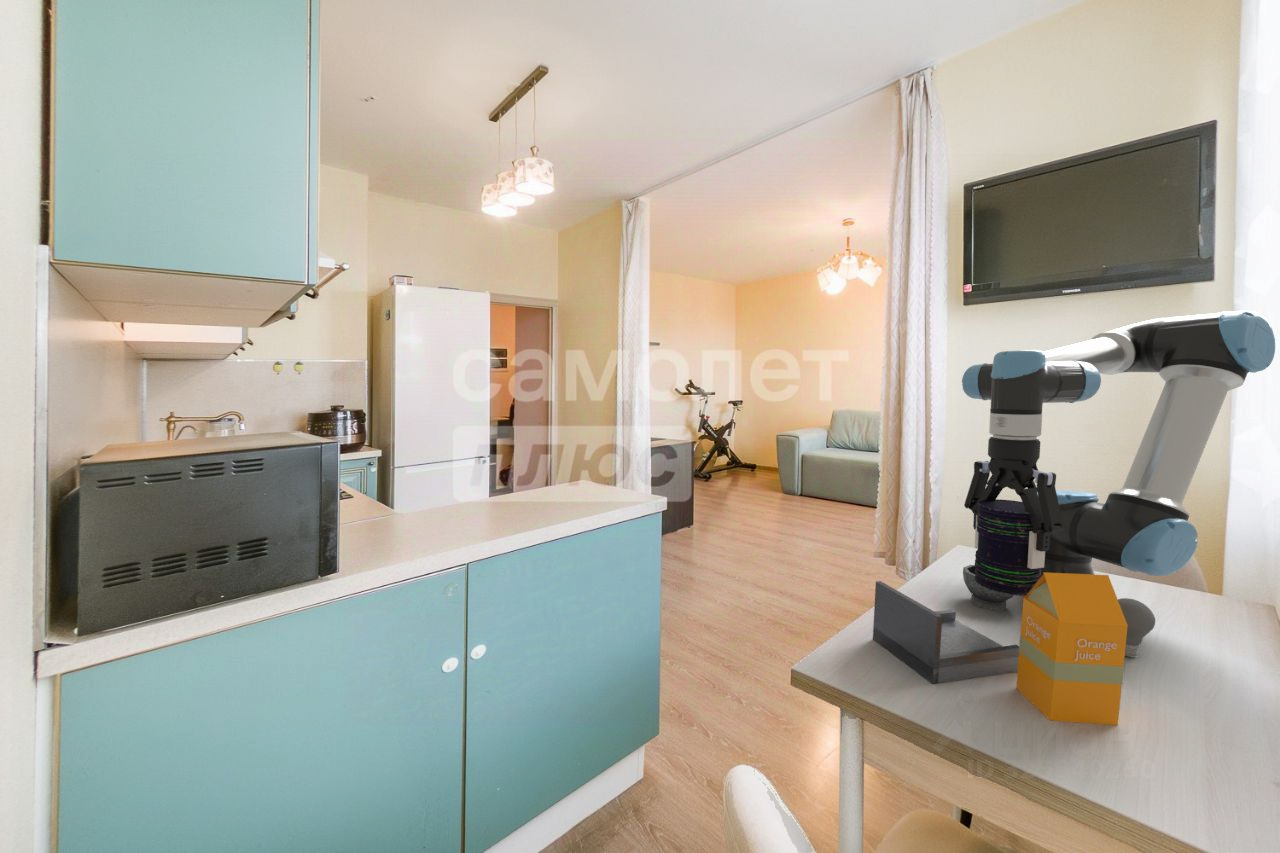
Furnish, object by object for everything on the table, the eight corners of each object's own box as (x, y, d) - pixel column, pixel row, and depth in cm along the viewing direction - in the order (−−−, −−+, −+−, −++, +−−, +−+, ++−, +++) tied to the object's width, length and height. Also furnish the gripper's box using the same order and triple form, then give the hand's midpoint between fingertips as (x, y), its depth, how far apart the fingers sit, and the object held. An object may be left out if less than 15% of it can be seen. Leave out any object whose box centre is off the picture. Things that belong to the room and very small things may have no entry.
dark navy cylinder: (961, 579, 96) (965, 502, 94) (994, 571, 99) (998, 497, 98) (1018, 600, 86) (1023, 515, 85) (1052, 590, 90) (1057, 508, 89)
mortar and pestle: (1002, 618, 101) (1007, 560, 100) (953, 601, 109) (956, 547, 108) (1027, 605, 107) (1031, 550, 106) (978, 589, 115) (982, 538, 114)
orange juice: (1015, 687, 78) (1025, 562, 76) (1076, 691, 77) (1088, 565, 75) (1050, 721, 70) (1062, 583, 68) (1119, 726, 69) (1133, 586, 67)
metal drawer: (950, 629, 96) (953, 574, 95) (1020, 670, 82) (1025, 606, 81) (872, 639, 92) (875, 581, 91) (932, 684, 79) (936, 616, 78)
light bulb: (1138, 649, 89) (1143, 595, 88) (1159, 667, 84) (1166, 609, 83) (1096, 643, 91) (1101, 590, 90) (1114, 660, 86) (1120, 604, 85)
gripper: (945, 431, 100) (941, 539, 102) (1062, 445, 79) (1053, 583, 81) (976, 430, 102) (971, 536, 104) (1099, 443, 80) (1089, 578, 82)
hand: (1007, 557), depth 92 cm, fingers closed on dark navy cylinder, 10 cm apart
